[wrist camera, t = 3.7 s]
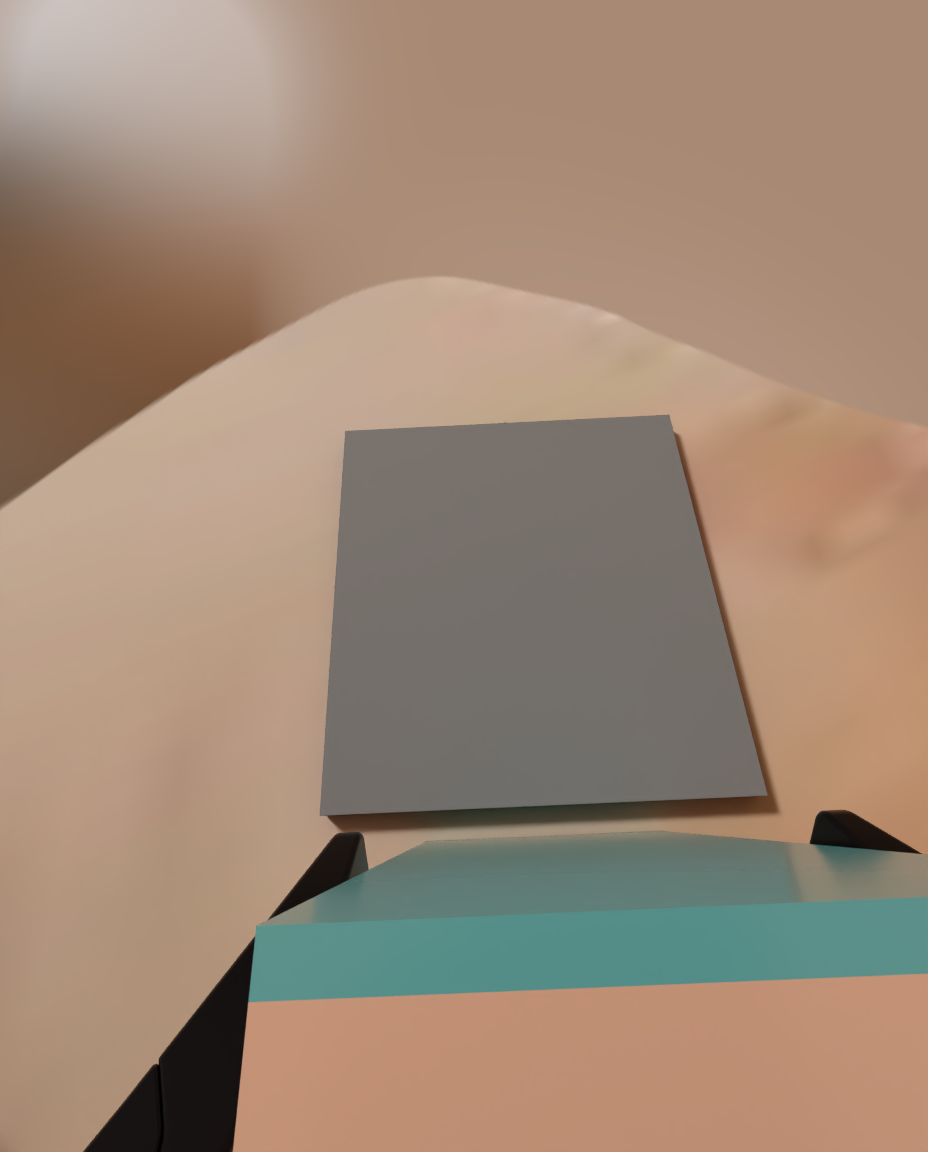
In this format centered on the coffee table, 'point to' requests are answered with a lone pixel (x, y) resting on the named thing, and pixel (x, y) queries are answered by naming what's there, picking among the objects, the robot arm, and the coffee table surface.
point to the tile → (596, 1001)
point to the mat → (526, 624)
